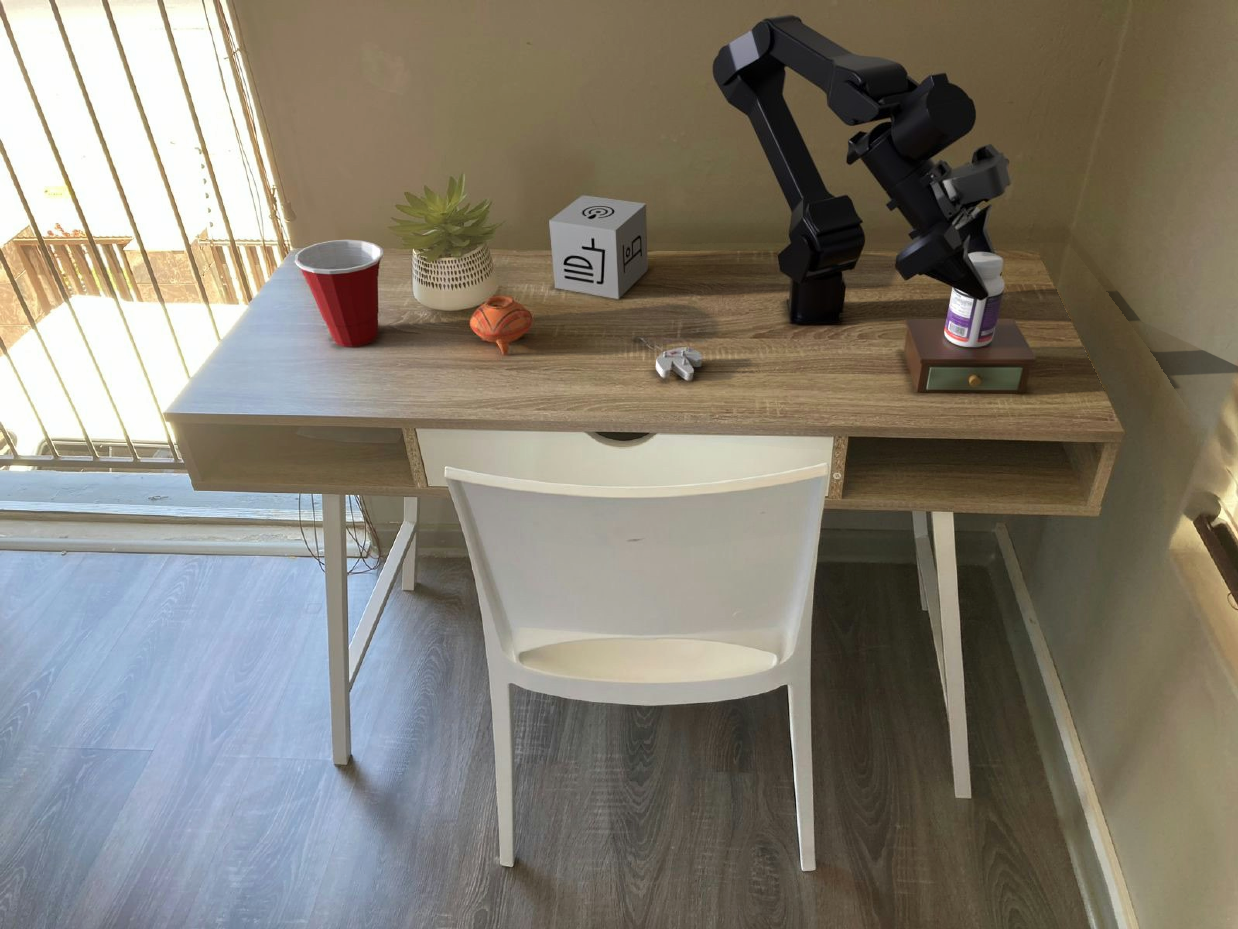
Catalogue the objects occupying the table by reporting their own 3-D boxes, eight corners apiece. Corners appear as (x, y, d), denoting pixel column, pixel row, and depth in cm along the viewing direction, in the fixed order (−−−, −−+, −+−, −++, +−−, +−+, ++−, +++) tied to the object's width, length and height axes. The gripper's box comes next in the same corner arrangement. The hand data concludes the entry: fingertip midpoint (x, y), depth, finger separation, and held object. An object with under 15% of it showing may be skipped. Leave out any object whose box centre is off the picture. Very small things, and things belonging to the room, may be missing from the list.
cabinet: (915, 397, 108) (921, 362, 105) (900, 352, 116) (905, 318, 113) (1029, 397, 107) (1038, 362, 104) (1006, 352, 115) (1013, 318, 112)
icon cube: (618, 298, 131) (615, 230, 125) (555, 287, 134) (549, 220, 128) (647, 269, 138) (646, 203, 132) (586, 260, 141) (582, 195, 136)
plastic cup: (415, 333, 125) (399, 248, 118) (346, 365, 119) (325, 278, 112) (368, 309, 131) (350, 227, 124) (300, 339, 125) (277, 254, 118)
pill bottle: (987, 326, 111) (1004, 248, 105) (997, 349, 107) (1015, 269, 101) (939, 325, 111) (954, 248, 105) (947, 348, 107) (963, 269, 101)
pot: (461, 355, 119) (457, 302, 116) (487, 340, 126) (484, 289, 123) (519, 361, 117) (517, 307, 114) (543, 344, 124) (541, 293, 121)
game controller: (681, 388, 111) (681, 368, 110) (608, 359, 118) (607, 340, 116) (710, 368, 115) (710, 349, 113) (638, 341, 121) (637, 322, 119)
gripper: (944, 155, 90) (1039, 284, 92) (993, 103, 103) (1075, 217, 105) (856, 220, 98) (944, 337, 100) (911, 164, 111) (989, 269, 113)
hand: (991, 287), depth 104 cm, fingers closed on pill bottle, 5 cm apart
